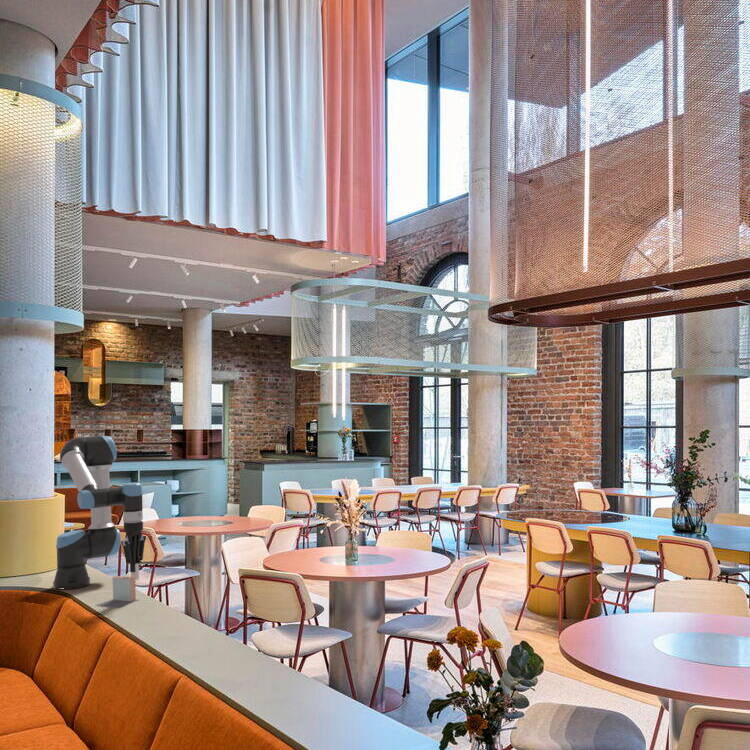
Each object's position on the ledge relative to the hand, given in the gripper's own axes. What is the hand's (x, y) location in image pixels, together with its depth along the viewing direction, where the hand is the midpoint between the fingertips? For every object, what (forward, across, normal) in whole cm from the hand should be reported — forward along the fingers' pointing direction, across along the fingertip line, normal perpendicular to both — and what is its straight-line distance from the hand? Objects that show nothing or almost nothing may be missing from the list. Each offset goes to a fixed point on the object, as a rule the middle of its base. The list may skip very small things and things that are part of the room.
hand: (135, 579), depth 322 cm
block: (+7, -7, 0) cm, 9 cm away
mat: (+7, -11, 0) cm, 13 cm away
